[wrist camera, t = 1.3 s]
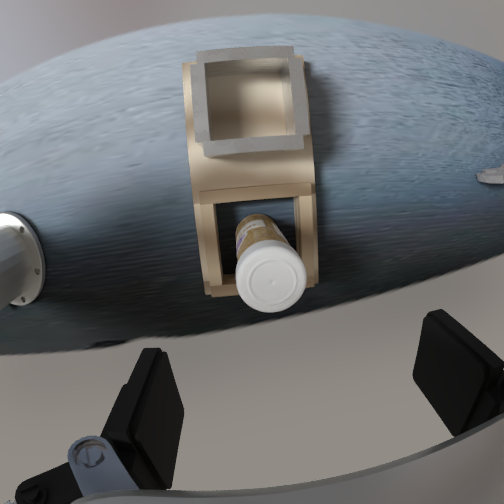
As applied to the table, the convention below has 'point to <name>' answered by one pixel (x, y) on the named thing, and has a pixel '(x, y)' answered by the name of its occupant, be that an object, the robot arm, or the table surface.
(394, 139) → the table surface
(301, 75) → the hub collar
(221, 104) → the stand board
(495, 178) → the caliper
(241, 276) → the sprinkles bottle
